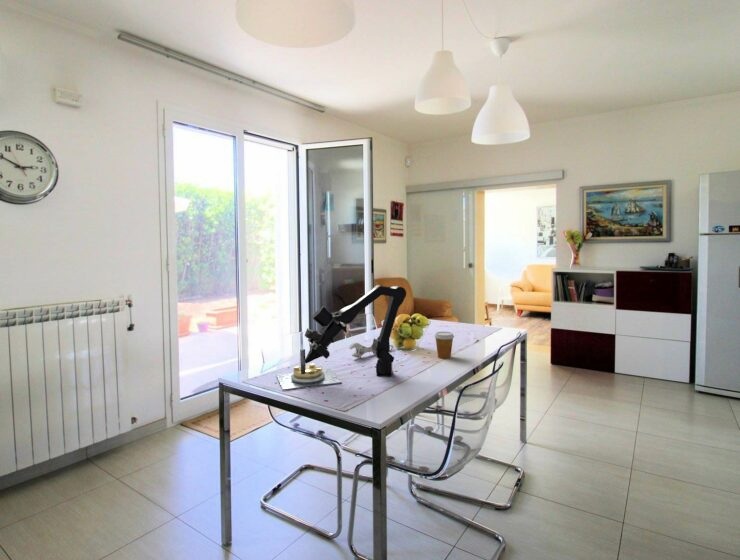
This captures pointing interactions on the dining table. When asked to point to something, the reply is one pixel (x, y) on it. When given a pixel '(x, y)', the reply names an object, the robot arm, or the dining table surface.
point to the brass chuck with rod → (306, 369)
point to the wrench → (361, 349)
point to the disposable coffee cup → (444, 344)
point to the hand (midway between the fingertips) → (305, 362)
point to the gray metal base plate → (307, 380)
